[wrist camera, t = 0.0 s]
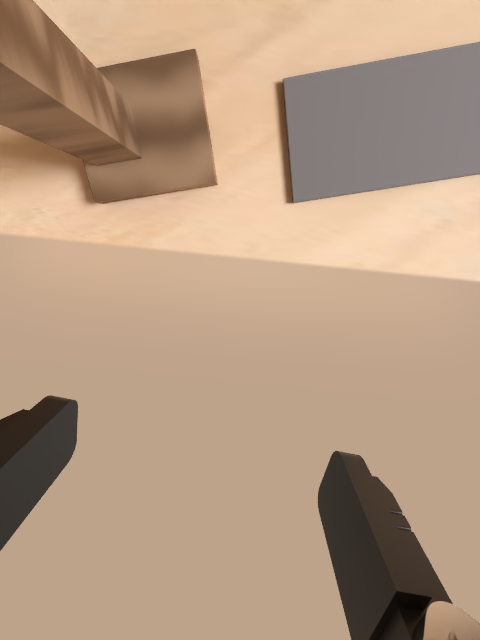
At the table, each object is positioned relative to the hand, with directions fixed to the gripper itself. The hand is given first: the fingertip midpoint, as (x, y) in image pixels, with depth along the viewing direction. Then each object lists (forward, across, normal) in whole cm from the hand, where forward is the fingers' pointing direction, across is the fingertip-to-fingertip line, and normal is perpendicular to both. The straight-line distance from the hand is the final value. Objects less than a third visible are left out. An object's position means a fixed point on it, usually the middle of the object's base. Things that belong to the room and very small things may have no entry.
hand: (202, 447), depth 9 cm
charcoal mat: (+29, -15, -21) cm, 39 cm away
